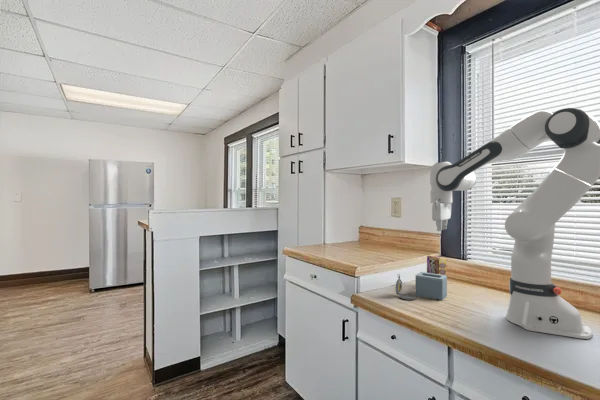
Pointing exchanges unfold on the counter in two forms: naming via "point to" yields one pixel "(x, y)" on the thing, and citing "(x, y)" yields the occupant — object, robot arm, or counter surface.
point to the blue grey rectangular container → (431, 285)
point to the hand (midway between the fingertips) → (442, 230)
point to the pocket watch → (399, 289)
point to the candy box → (436, 265)
